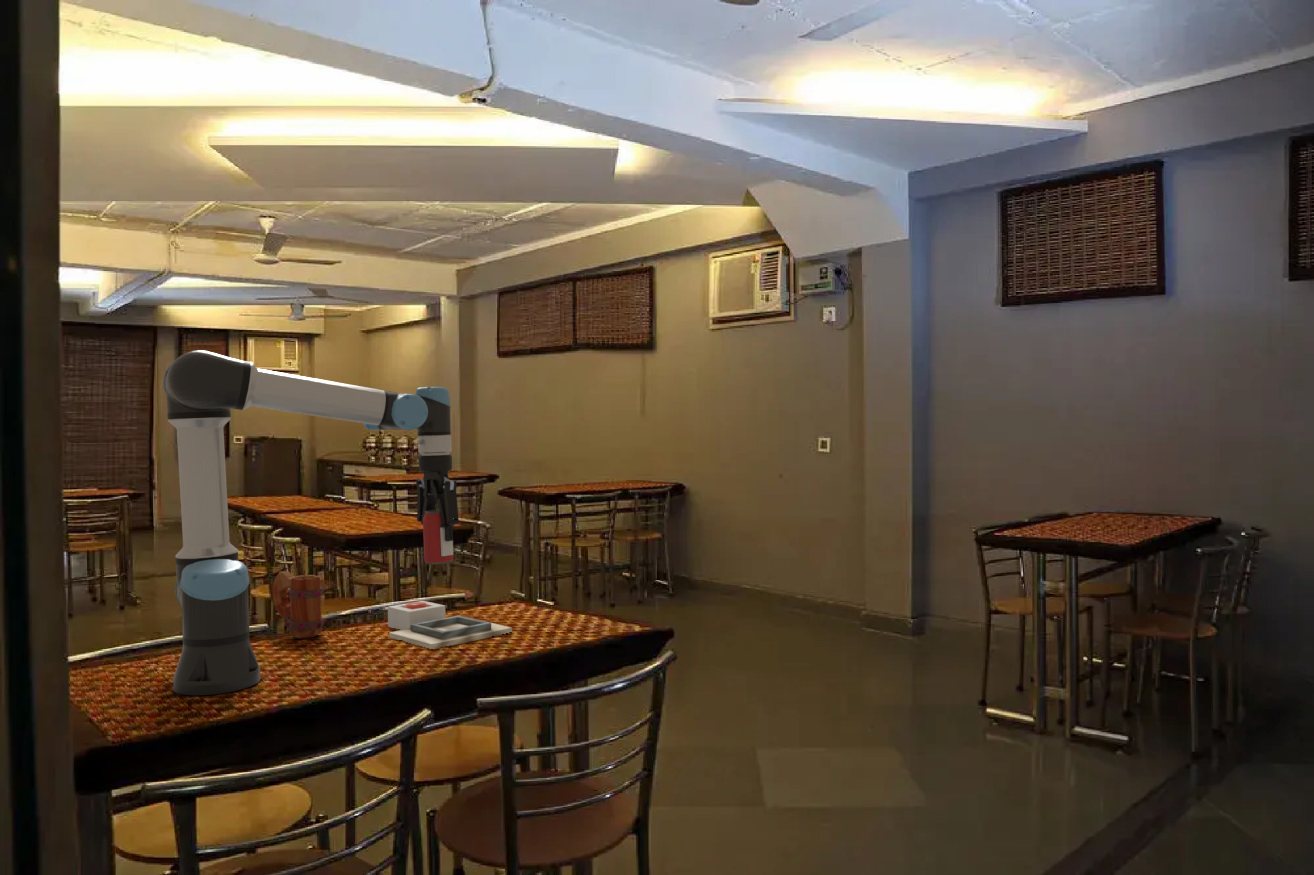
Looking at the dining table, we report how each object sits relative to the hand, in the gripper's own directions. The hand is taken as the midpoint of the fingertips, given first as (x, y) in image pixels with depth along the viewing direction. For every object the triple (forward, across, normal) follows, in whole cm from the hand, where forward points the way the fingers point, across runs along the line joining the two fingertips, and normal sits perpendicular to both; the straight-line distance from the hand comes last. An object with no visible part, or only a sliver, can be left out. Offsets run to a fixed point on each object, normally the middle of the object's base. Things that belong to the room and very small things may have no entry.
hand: (438, 553), depth 215 cm
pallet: (+20, -2, +4) cm, 20 cm away
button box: (+20, -17, +4) cm, 27 cm away
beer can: (+2, 0, 0) cm, 2 cm away
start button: (+18, -17, +4) cm, 25 cm away
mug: (+20, -30, -21) cm, 41 cm away
